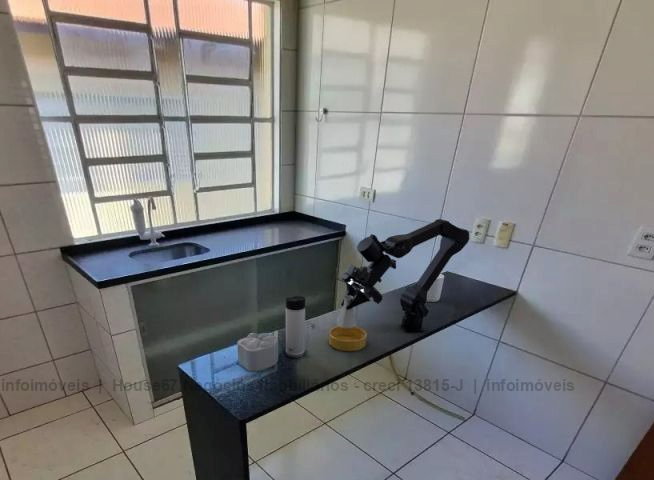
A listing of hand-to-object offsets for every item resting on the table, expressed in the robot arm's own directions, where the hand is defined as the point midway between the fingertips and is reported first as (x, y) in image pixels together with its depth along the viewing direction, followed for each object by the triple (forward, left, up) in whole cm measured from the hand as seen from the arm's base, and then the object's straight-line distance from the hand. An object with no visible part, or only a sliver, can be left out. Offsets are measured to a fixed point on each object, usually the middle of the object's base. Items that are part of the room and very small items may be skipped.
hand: (344, 307), depth 137 cm
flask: (-1, 0, -7) cm, 7 cm away
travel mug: (+17, +7, -13) cm, 23 cm away
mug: (-49, -40, -13) cm, 65 cm away
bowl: (-2, +1, -13) cm, 13 cm away
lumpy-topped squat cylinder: (+29, +11, -13) cm, 34 cm away
